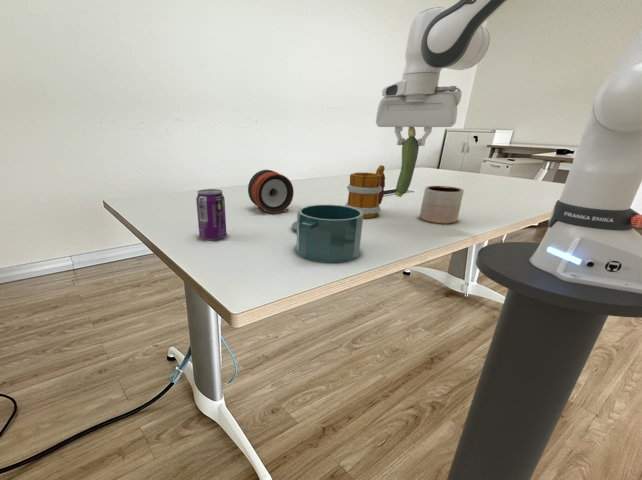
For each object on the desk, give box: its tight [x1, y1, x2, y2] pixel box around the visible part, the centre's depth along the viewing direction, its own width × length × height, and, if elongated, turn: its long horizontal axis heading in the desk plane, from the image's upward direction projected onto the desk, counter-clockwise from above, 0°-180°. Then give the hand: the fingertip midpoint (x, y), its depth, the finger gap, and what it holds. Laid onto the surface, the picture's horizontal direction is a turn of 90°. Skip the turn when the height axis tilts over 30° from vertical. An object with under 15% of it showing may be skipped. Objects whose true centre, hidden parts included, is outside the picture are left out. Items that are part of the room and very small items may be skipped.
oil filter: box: [247, 169, 294, 214], centre depth 116 cm, size 13×12×13 cm
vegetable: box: [394, 127, 420, 198], centre depth 96 cm, size 4×4×20 cm
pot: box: [295, 204, 364, 264], centre depth 80 cm, size 15×20×10 cm
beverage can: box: [195, 188, 227, 241], centre depth 88 cm, size 7×7×12 cm
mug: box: [344, 164, 386, 219], centre depth 112 cm, size 11×16×15 cm, turn 131°
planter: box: [419, 185, 465, 225], centre depth 106 cm, size 11×11×10 cm
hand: (410, 145), depth 94 cm, fingers closed on vegetable, 4 cm apart
